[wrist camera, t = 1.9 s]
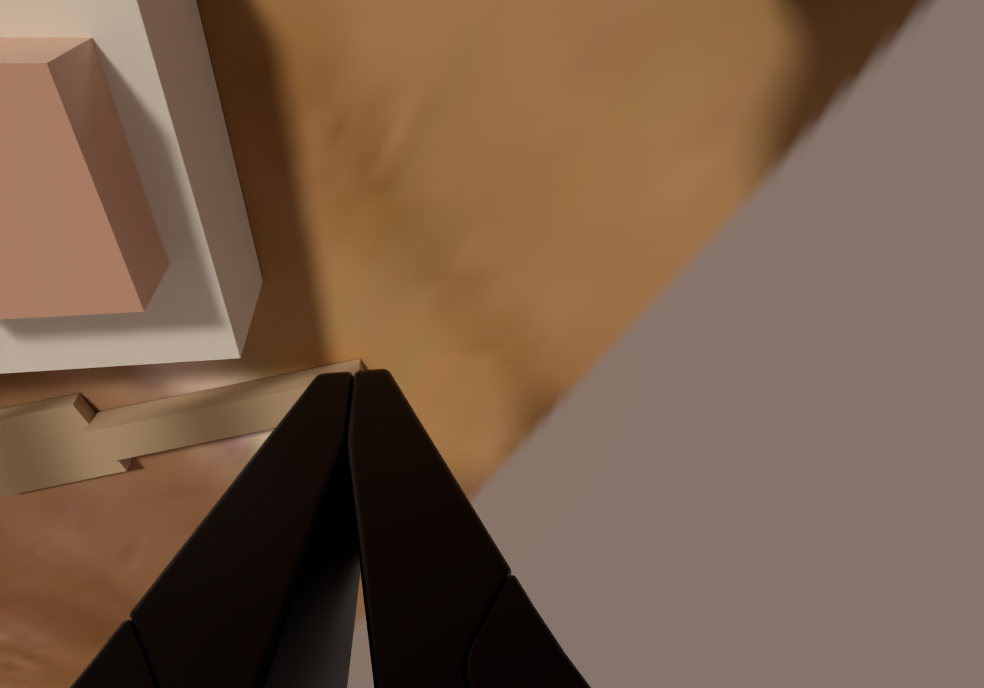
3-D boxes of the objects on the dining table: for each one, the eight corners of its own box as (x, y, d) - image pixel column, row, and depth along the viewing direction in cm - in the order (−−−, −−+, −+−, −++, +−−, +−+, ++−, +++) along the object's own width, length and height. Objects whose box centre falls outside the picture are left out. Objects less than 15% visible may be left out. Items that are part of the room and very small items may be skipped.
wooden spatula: (352, 337, 22) (351, 355, 21) (378, 408, 24) (378, 426, 23) (-62, 421, 21) (-79, 442, 20) (4, 485, 23) (-9, 506, 23)
